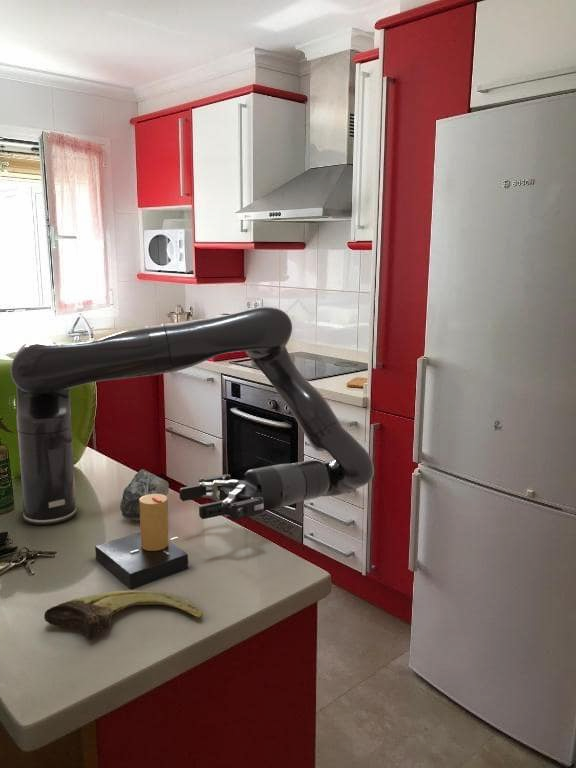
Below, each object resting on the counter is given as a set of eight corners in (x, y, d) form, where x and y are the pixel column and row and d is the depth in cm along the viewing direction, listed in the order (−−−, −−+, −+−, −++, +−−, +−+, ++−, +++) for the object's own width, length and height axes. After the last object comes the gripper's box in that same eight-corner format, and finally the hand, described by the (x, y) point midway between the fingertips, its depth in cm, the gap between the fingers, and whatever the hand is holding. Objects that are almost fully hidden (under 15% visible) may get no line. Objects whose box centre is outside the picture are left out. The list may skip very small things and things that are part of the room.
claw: (49, 653, 79) (48, 628, 78) (46, 611, 88) (45, 588, 87) (203, 623, 86) (203, 600, 85) (185, 587, 95) (185, 567, 95)
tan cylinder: (136, 544, 103) (134, 496, 101) (159, 536, 106) (158, 489, 104) (149, 553, 100) (147, 504, 98) (173, 545, 102) (172, 497, 101)
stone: (128, 459, 121) (156, 472, 114) (164, 482, 127) (192, 495, 120) (100, 504, 118) (127, 519, 111) (138, 525, 124) (166, 541, 117)
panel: (95, 559, 103) (95, 544, 102) (159, 539, 110) (159, 525, 110) (130, 589, 94) (130, 573, 93) (197, 565, 101) (197, 549, 101)
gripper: (255, 455, 118) (173, 469, 110) (296, 479, 106) (207, 496, 98) (255, 493, 120) (174, 509, 111) (295, 520, 108) (207, 541, 99)
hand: (189, 503), depth 105 cm, fingers open, 8 cm apart
